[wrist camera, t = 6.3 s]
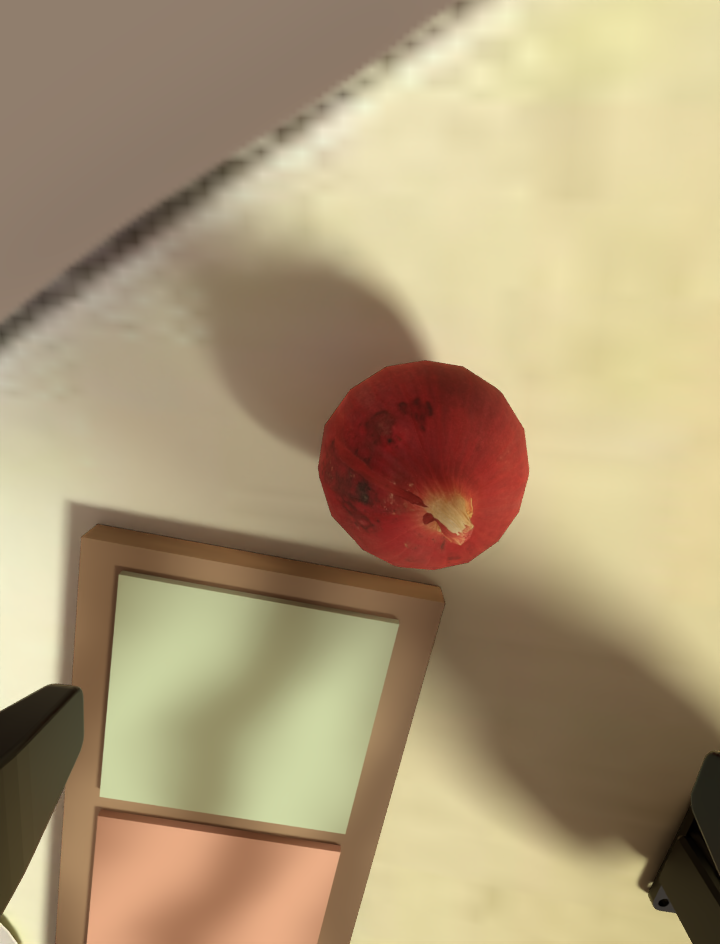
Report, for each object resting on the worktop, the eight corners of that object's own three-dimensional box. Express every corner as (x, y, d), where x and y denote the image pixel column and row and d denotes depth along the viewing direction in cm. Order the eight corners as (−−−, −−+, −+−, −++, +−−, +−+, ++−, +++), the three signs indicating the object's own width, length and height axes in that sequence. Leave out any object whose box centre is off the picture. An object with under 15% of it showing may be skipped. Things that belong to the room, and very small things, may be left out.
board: (440, 586, 20) (446, 607, 19) (328, 991, 27) (327, 1029, 25) (97, 524, 20) (76, 540, 18) (66, 956, 26) (48, 993, 24)
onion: (316, 500, 19) (290, 621, 12) (339, 339, 18) (326, 357, 10) (472, 523, 20) (546, 656, 12) (508, 367, 18) (621, 405, 10)
